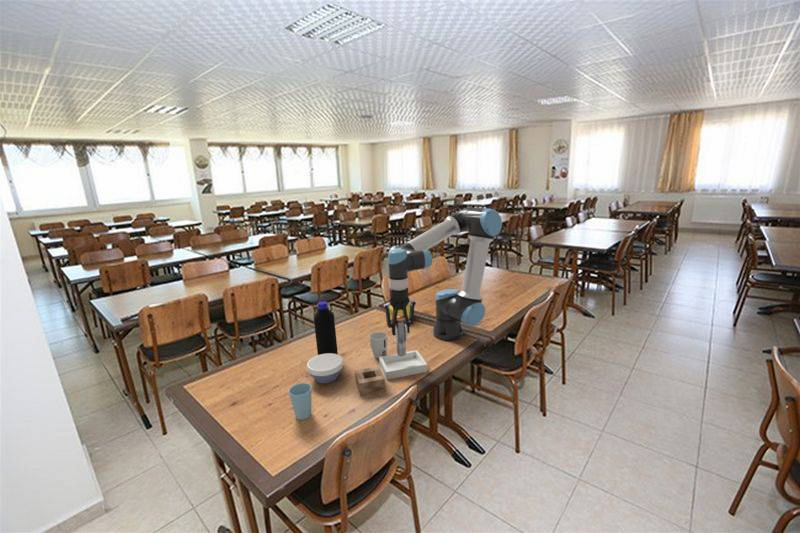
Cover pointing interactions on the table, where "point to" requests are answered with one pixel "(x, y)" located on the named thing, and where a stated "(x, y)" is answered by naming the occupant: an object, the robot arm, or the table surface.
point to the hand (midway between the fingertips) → (401, 340)
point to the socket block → (369, 380)
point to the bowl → (325, 367)
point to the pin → (401, 335)
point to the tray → (402, 364)
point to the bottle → (325, 330)
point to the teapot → (399, 311)
